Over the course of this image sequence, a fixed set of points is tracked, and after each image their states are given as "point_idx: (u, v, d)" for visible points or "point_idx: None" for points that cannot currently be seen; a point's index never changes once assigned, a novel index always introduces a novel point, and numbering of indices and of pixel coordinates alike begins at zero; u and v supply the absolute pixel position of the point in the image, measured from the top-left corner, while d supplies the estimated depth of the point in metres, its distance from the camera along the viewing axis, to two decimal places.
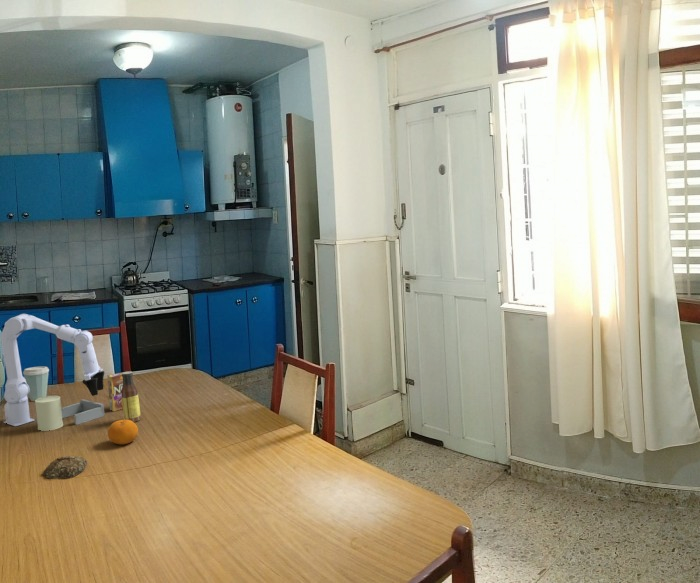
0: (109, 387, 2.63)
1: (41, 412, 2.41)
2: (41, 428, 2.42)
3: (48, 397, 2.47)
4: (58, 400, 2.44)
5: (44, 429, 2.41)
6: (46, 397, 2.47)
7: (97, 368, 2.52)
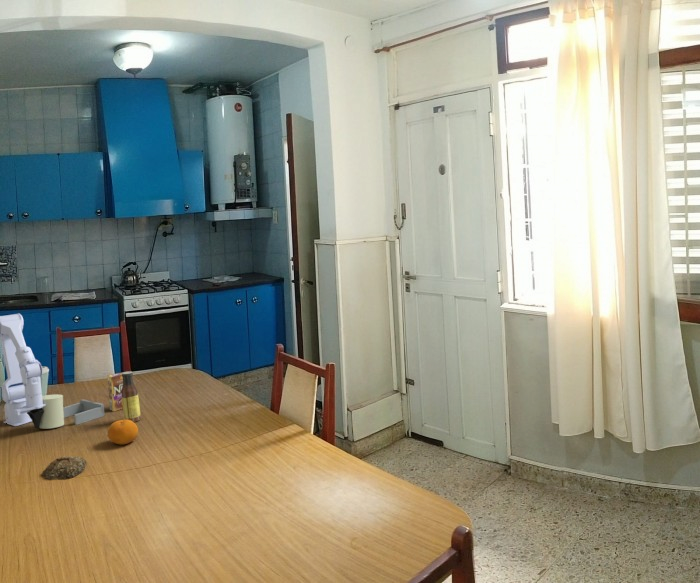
0: (109, 387, 2.63)
1: (48, 409, 2.42)
2: (47, 426, 2.42)
3: (48, 396, 2.48)
4: (62, 397, 2.47)
5: (50, 426, 2.42)
6: (45, 396, 2.47)
7: (35, 404, 2.38)
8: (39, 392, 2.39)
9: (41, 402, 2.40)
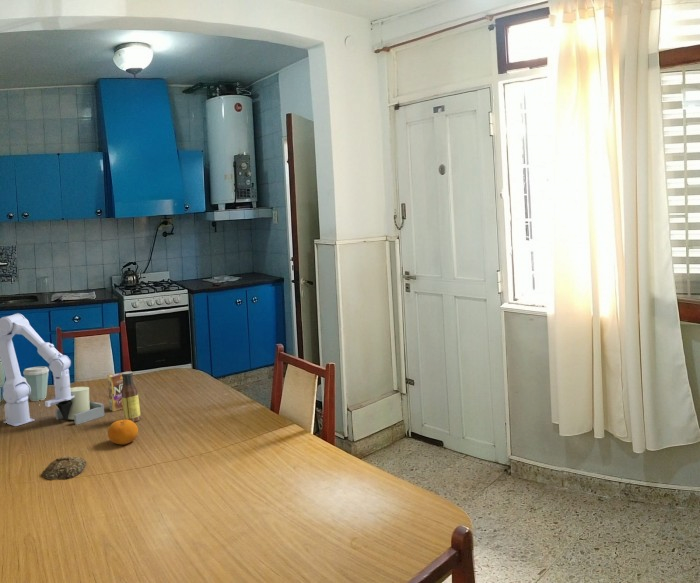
0: (109, 387, 2.63)
1: (77, 400, 2.52)
2: None
3: (74, 388, 2.58)
4: (88, 389, 2.58)
5: None
6: (71, 388, 2.57)
7: (64, 396, 2.48)
8: (69, 383, 2.50)
9: (69, 394, 2.50)
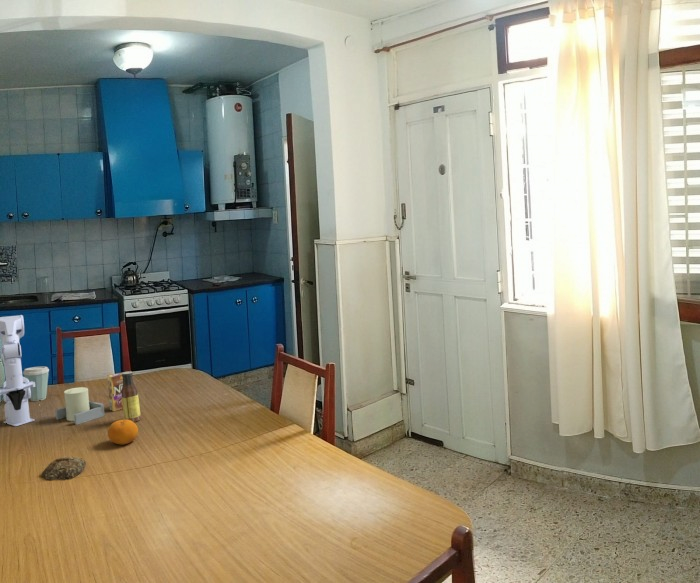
0: (109, 387, 2.63)
1: (77, 402, 2.52)
2: None
3: (73, 389, 2.57)
4: None
5: None
6: (70, 390, 2.56)
7: (16, 385, 2.35)
8: (17, 374, 2.35)
9: (21, 383, 2.37)
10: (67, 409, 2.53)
